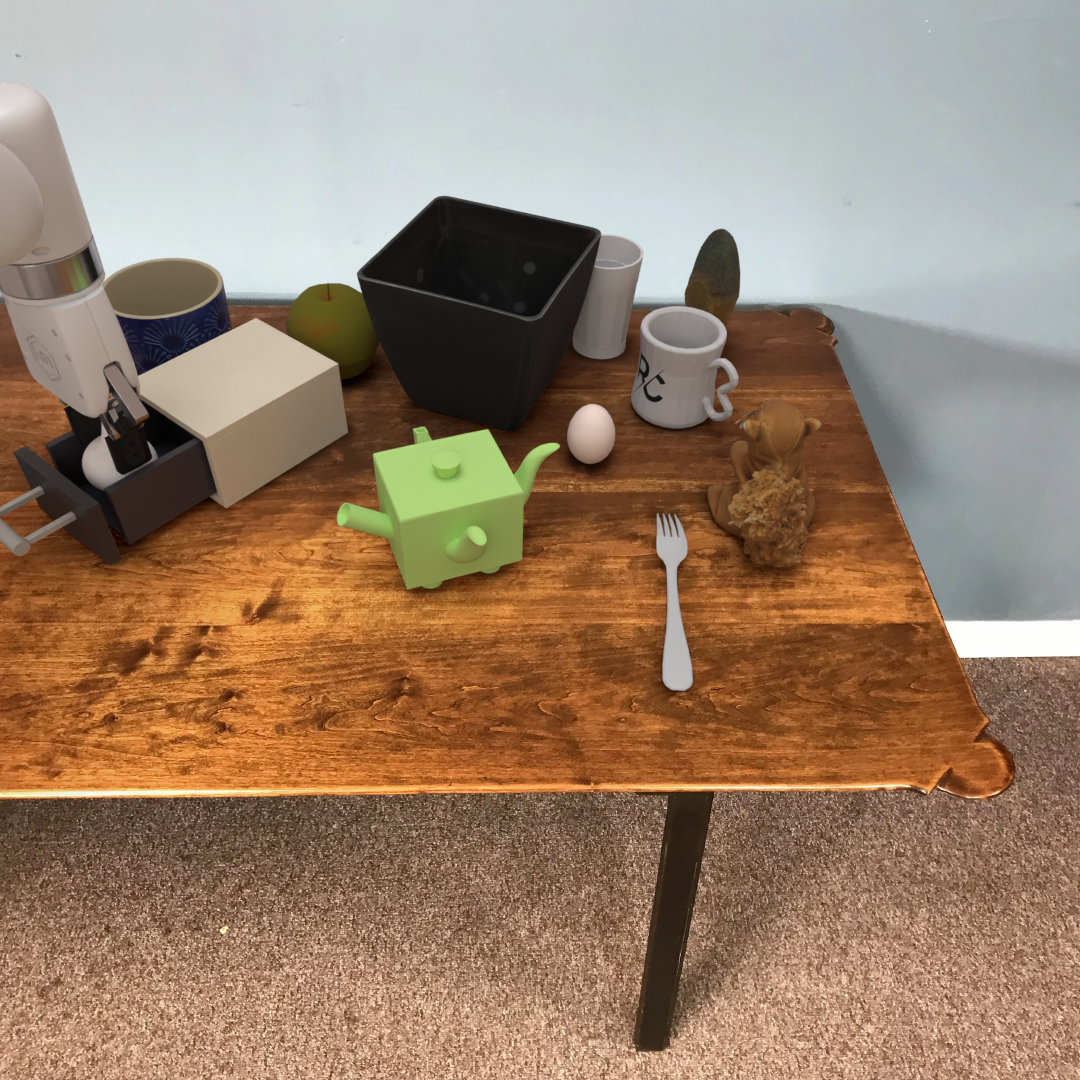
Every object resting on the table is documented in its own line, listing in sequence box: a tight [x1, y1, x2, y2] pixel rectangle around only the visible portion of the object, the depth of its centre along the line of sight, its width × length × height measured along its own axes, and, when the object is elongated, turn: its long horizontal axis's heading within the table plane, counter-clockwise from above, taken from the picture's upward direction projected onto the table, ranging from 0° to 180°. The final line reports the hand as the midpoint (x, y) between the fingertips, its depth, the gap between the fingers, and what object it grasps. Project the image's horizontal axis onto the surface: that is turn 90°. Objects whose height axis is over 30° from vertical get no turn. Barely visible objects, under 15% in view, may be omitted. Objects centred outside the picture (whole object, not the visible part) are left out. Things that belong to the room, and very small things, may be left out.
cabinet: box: [138, 317, 349, 509], centre depth 92 cm, size 16×13×9 cm
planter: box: [101, 257, 233, 376], centre depth 99 cm, size 12×12×11 cm
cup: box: [572, 233, 644, 360], centre depth 106 cm, size 8×8×12 cm
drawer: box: [0, 399, 217, 567], centre depth 83 cm, size 20×11×7 cm, turn 141°
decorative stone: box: [684, 228, 741, 327], centre depth 104 cm, size 10×6×15 cm, turn 169°
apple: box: [284, 282, 380, 380], centre depth 101 cm, size 10×10×11 cm
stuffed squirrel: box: [706, 399, 822, 568], centre depth 83 cm, size 10×14×13 cm
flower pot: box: [356, 195, 602, 433], centre depth 97 cm, size 19×19×17 cm
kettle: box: [336, 426, 561, 591], centre depth 81 cm, size 15×14×11 cm
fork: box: [656, 512, 694, 692], centre depth 81 cm, size 3×21×3 cm, turn 177°
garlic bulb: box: [82, 408, 158, 491], centre depth 81 cm, size 6×6×8 cm
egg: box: [566, 403, 616, 465], centre depth 92 cm, size 5×5×7 cm
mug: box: [630, 305, 740, 430], centre depth 97 cm, size 12×9×10 cm
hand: (114, 450), depth 82 cm, fingers closed on garlic bulb, 5 cm apart
